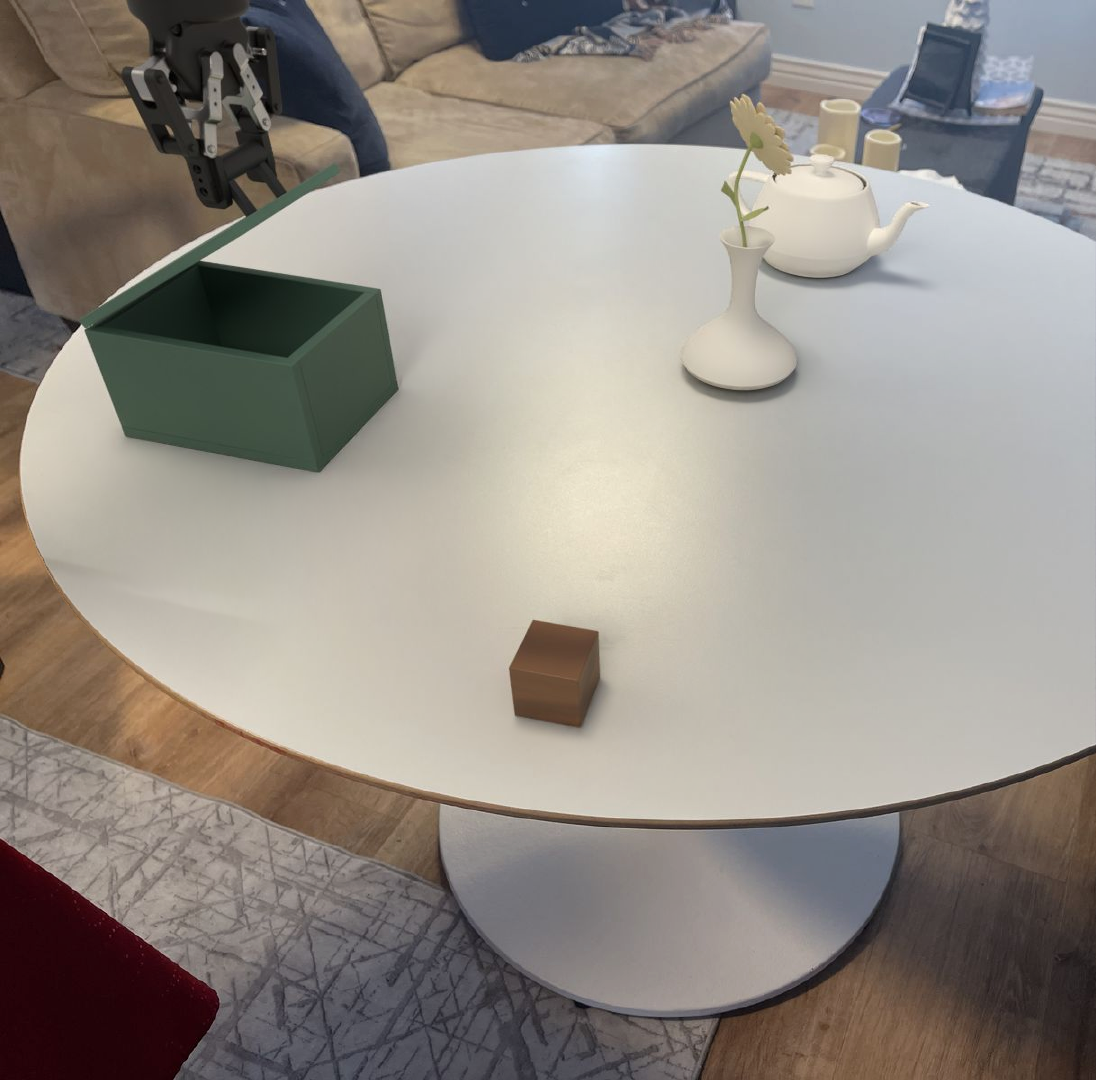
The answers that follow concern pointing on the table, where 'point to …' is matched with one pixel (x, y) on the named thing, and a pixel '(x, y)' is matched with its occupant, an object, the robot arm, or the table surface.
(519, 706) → the block
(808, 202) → the teapot
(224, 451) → the box
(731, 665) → the table surface
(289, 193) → the lid
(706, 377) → the flower in vase
